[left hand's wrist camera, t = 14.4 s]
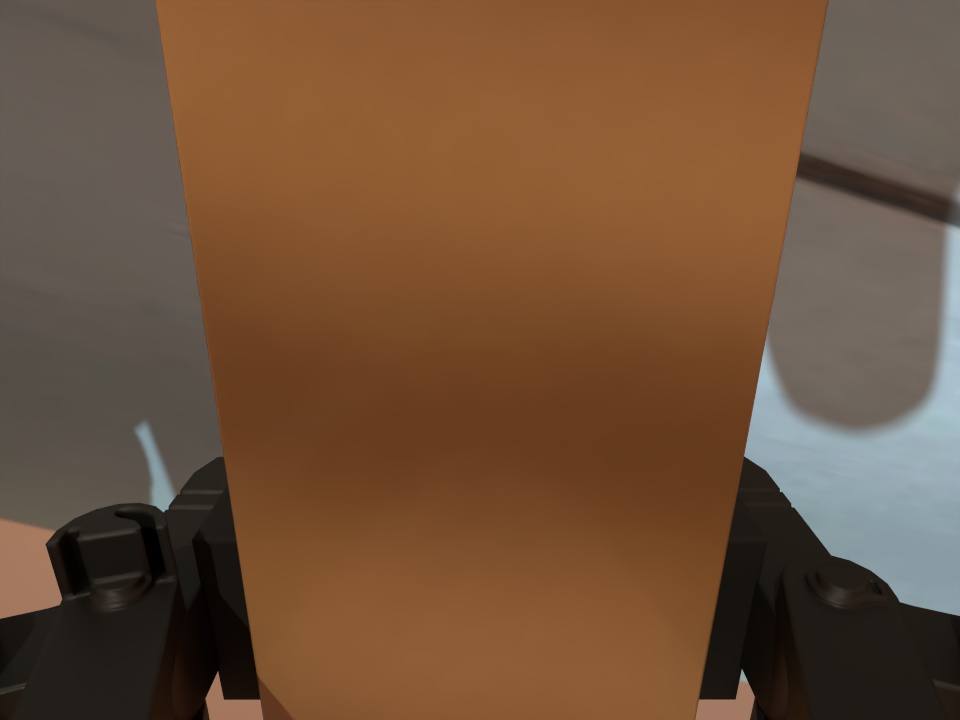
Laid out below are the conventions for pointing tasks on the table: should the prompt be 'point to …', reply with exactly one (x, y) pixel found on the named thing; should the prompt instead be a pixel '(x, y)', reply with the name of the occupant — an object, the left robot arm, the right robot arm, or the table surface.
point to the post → (486, 333)
